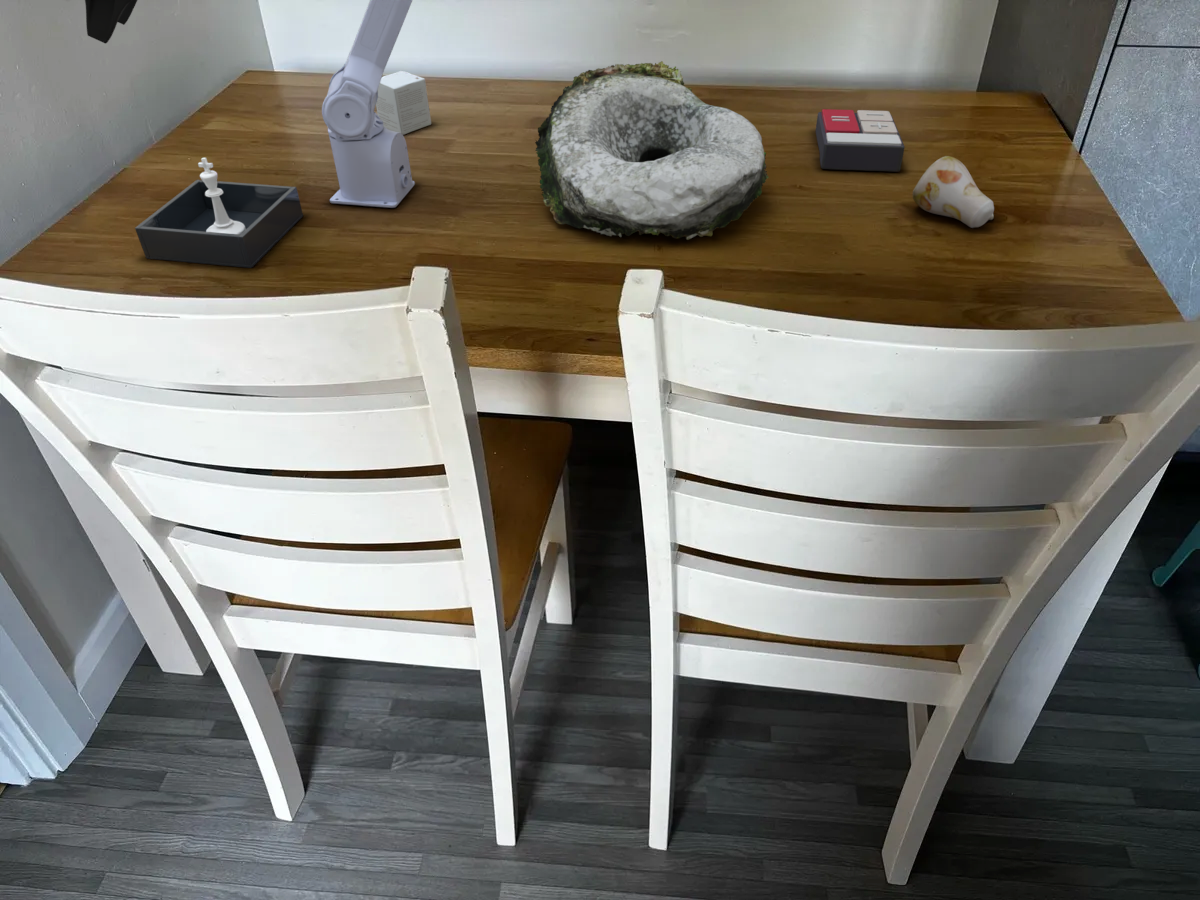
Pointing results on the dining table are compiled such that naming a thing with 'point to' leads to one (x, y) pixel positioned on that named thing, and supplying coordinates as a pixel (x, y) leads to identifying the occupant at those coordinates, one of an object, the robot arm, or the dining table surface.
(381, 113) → the product box
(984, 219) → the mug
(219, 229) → the chess piece
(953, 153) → the dining table surface
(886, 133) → the calculator
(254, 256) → the square open tray
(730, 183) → the stone basin
